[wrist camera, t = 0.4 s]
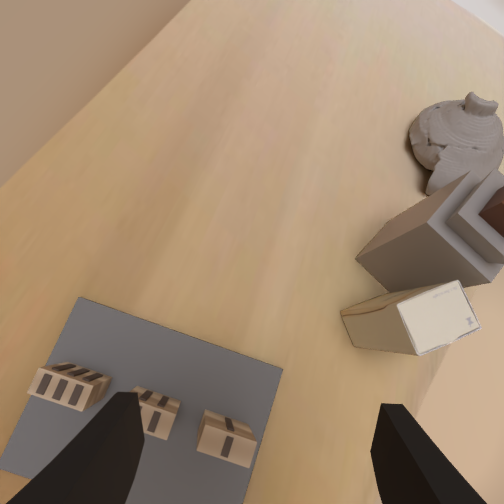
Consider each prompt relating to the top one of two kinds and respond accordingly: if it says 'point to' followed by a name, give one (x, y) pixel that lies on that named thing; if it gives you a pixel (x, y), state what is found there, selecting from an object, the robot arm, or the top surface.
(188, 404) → the mat
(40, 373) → the tile three
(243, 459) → the tile one
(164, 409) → the tile two
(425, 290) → the skincare box
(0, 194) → the top surface
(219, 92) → the top surface
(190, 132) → the top surface
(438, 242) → the perfume bottle
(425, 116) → the grey clay mound
